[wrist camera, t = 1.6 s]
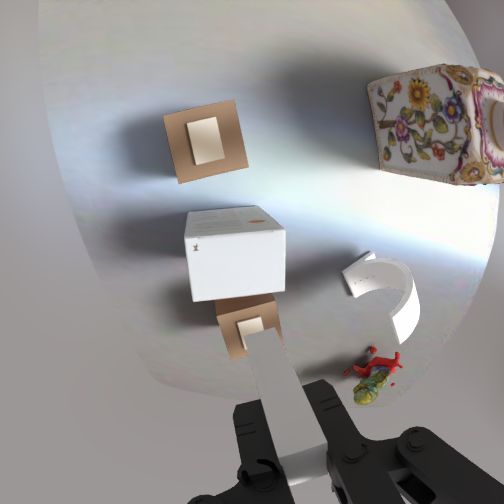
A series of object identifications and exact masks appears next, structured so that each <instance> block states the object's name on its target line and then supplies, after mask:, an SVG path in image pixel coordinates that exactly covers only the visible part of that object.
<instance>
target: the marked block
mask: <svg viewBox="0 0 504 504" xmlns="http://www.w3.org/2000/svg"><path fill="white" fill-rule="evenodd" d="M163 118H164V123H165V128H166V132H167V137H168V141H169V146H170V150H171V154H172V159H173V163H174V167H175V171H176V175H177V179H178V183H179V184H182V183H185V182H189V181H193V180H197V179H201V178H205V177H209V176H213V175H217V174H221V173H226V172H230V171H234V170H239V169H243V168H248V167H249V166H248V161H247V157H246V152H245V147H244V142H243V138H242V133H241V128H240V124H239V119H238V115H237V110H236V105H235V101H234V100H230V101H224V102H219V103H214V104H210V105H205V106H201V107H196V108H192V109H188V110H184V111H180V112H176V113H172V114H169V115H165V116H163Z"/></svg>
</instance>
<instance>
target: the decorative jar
mask: <svg viewBox="0 0 504 504" xmlns="http://www.w3.org/2000/svg"><path fill="white" fill-rule="evenodd" d="M367 91H368V95H369V100H370V105H371V109H372V114H373V120H374V127H375V134H376V140H377V146H378V153H379V162H380V169H381V170H382V171H386V172H390V173H395V174H400V175H405V176H410V177H416V178H422V179H429V180H433V181H438V182H443V183H448V184H452V185H464V186H466V185H469V186H475V185H477V184H483V185H486V184H500V183H504V82H503V81H502V79H501V77H500V76H499V75H497V74H495V73H493V72H492V71H489V70H486V69H479V68H473V67H464V66H461V65H447V64H439V65H435V66H430V67H425V68H421V69H416V70H412V71H408V72H404V73H400V74H396V75H392V76H388V77H385V78H381V79H378V80H375V81H372V82H370V83H369V84H368V85H367Z"/></svg>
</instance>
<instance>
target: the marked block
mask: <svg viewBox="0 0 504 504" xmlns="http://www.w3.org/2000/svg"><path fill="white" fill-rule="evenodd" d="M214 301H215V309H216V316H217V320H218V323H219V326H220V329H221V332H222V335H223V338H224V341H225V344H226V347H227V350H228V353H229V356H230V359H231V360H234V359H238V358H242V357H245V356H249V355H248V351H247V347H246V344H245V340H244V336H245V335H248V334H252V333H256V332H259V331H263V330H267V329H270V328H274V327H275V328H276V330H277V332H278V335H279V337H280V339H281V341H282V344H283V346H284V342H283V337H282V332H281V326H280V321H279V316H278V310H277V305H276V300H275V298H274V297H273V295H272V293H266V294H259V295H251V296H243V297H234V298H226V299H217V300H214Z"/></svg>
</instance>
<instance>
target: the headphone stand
mask: <svg viewBox="0 0 504 504" xmlns="http://www.w3.org/2000/svg"><path fill="white" fill-rule="evenodd" d="M342 273H343V275H344V278H345V280H346V282H347V284H348V286H349V288H350V291H351V293H352V295H353V296H354V297H355V298H357V297H358V296H360V295H362V294H364V293H366V292H368V291H371V290H375V289H379V288H393V289H397V290H400V291H402V292H404V295H403V297H402V299H401V301H400V302H399V303H398V305H397V306H396V307H395V308H394V309H393V310H392V311H391V312H389V313H388V316H389V319H390V322H391V325H392V328H393V331H394V334H395V337H396V340H397V341H398V342H399V343H400V344H401V343H402V342H403V341H405V340H406V339H407V338H408V336H409V335H410V334H411V333H412V331H413V330H414V328H415V326H416V324H417V322H418V319H419V314H420V305H419V301H418V296H417V292H416V288H415V284H414V280H413V276H412V273H411V271H410V270H409V268H408V267H407V266H406V265H405V264H403V263H402V262H400V261H398V260H395V259H390V258H376V257H375V255H374V253H373V252H371V251H370V252H369V253H367V254H366V255H364V256H363V257H362V258H360V259H359V260H357V261H356V262H354V263H353V264H352V265H350V266H349V267H347V268H346V269H344V270H343V271H342Z"/></svg>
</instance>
